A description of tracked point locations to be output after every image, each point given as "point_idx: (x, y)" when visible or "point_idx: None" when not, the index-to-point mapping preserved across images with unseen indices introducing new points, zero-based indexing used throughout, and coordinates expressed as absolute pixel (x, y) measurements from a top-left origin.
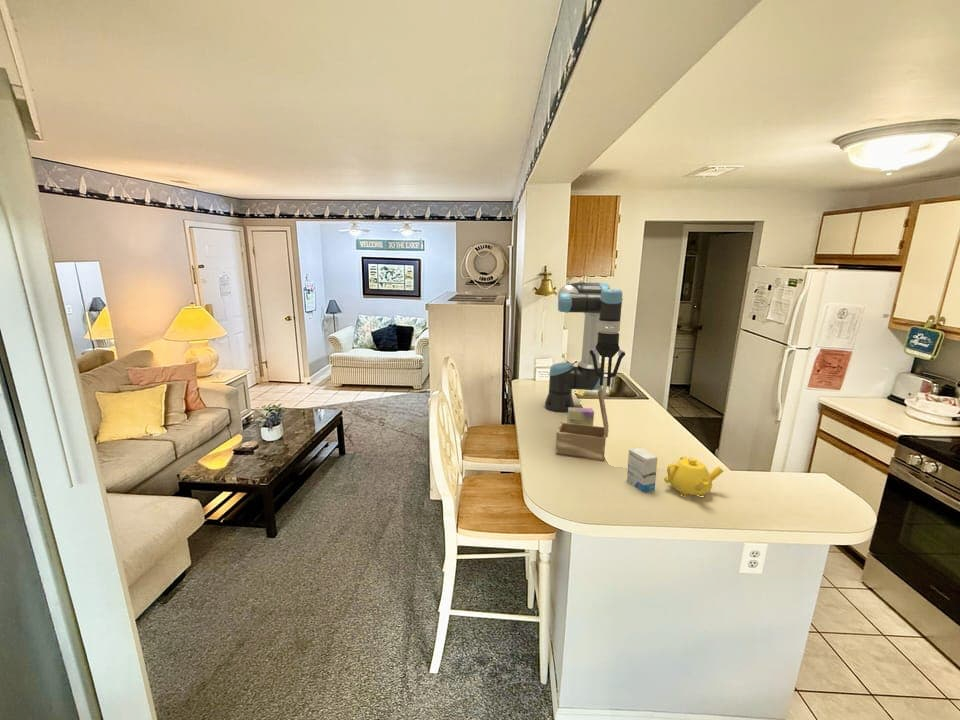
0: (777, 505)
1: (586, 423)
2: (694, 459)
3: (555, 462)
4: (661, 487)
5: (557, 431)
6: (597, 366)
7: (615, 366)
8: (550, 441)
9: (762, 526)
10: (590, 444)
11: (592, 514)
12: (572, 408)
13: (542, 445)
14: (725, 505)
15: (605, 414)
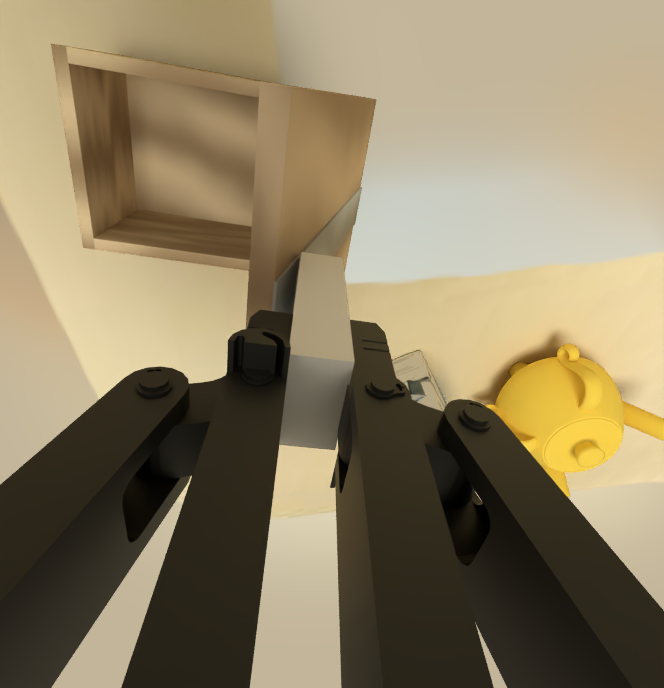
0: None
1: None
2: (597, 459)
3: (148, 287)
4: (471, 383)
5: (82, 232)
6: (95, 557)
7: (503, 678)
8: (64, 44)
9: (608, 483)
10: None
11: (274, 500)
12: None
13: (43, 117)
14: None
15: (338, 235)
